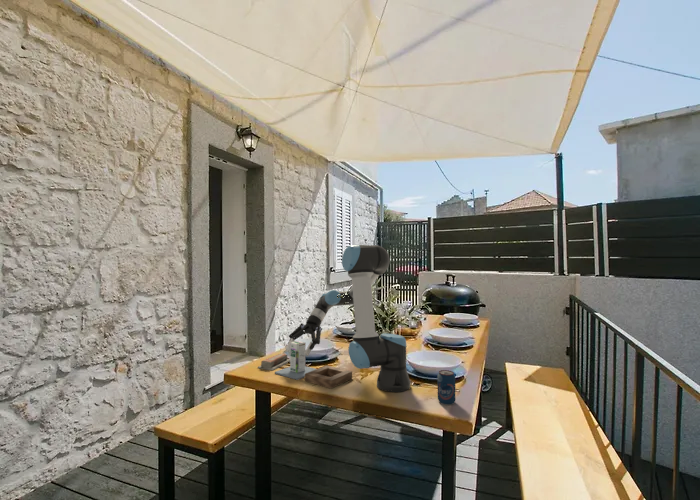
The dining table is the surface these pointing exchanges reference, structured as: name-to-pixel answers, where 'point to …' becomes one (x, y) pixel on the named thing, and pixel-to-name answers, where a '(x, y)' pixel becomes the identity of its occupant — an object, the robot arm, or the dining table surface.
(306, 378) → the walnut holder
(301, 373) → the slate pad
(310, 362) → the dining table surface
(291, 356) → the syrup box
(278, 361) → the packaged product
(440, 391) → the soda can
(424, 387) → the dining table surface
